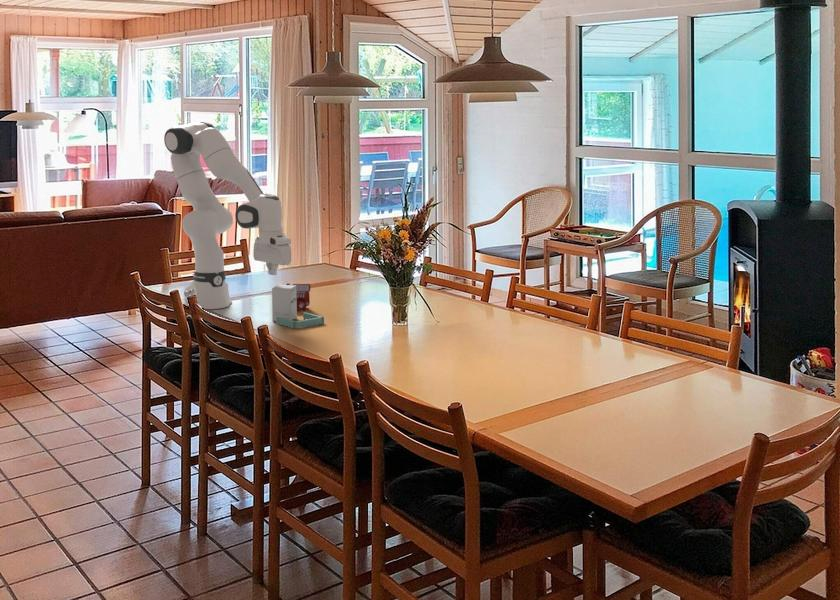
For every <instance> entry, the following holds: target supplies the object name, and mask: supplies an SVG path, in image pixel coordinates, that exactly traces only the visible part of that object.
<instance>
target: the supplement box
mask: <svg viewBox="0 0 840 600" xmlns="http://www.w3.org/2000/svg"><path fill="white" fill-rule="evenodd" d="M271 288H272V289H271V297H272V298H271V300H272V302H271V303H272V309H271V310H272V321H273V322H277V320H276V317H281V318H285V319H289V320H292V321H294V320H296V319H297V318H298V316H297V315H298V314H297V313H298V312H297V311H298V310H297V292H296V285H293V284H290V285H286V284H278V285H275V286H274V287H271ZM296 317H297V318H296ZM293 319H294V320H293Z"/></svg>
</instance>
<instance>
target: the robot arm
mask: <svg viewBox="0 0 840 600" xmlns="http://www.w3.org/2000/svg"><path fill="white" fill-rule="evenodd" d="M163 138H164V139H163V140H164V145H165V148H166V149H167V151H169V153H171V156H170V160H171V167H172V170H173V171H172V172H173V174H174V177H175V180H176V183H177V185H178V188H179V191H180V194H181V195H182V198H183V199H184V201H186V202H187V203H189V204H190V205H191V206H192V208H193V209H194V210H192V211H190V212H188V213H187V214H185V216H183V218H182V221H181V226H182V229H183V232H184V233H185V235H187V237H189V240H190V241H191V244H192V248H193V252H194V263H195V264H194V265H195V267H194V268H195V270H194V271H193V272H192V273H193V274H192V275H193V279H192V281H191V283H190V284H188V285H187V286H186V287H185V289H184V292H183V294H184V299H181V300H182V302H183V303H184V304H185V305H186V306H188V301H187V297H188V296H189V295H196V296H197V299H198V304H199V305H200V306H201V307H202V308H204V309H203V310H216V309H217V310H218V309H225V308H228V307H230V306H231V304H233V301H232V299H231V300H230V290H229V284H228V283H227V282H226V277H227V276H226V275H227V273H226V270H225V256H224V250H223V249H222V248H221V247H220V245H219V243H218V240H217V235H221V234H224V233H225V232H227V231H228V230H229V229H230V228H231V227H232V226H233V224H234V223H233V222H234V218H233V214H232V213H231V211H230V210H229V209H228V208H226V207H225V206H224V205H223V204H222V203H221V202H220V200H219V199H218V197H217V196H216V195H215V193H214V192H213V190H212V189H211V185H210V183H209V181H208V179H207V175H206V174H205V170H204V169H203V165H202V164H201V160H200V157H202V159H203V161H204V163H205V164H206V167H207V168H208V170H209V171H210V173H211V174H212V175H213V176H214V177H216V178H217V179H219V180H224V181H228V182H230V183H232V184H234V185H236V186H237V187H238V188H240V190H241V191H242V193H243V194H244V195H245V197H246V198H247V200H248V202H245V203H242V204H240V205H239V206H238V207H237V208H236V210H235V221H236V223H237V224H238V226H239V227H241V228H242V229H247V230H249V229H258V236H257V237H256V238H255V241H254V243H253V251H252V252H253V253H252V254H253V259H254V261H257V262H261V263H265V266H266V268H267V271H268V273H267V274H268V275H271V276H276V275H277V270H278V269H279V268H278V267H279V266H289V265H291V263H292V247H291V243H292V239H291V238H290V237H289V236H288V235H286V233H284V229H283V226H282V221H283V210H282V209H283V208H282V202H281V199H280V198H279V196H277V195H275V194H271V193H270V194H269V193H264V191H263V190H262V189H261V187H260V186H259V185H258V183H257V182H256V180H255V179H254V177H253V176H252V174H251V172H250V171H249V170H248V168H246V167H245V166H244V165H243V164H242V162H240V160H239V159H238V158H237V156H236V154H235V153H234V151H233V149H232V148H231V145H230V144H229V142H228V141H227V140H226V138H225V136H224V135H223V134H222V133H221V132H220V130H219V129H217V128H216V127H215V125H213V124H212V123H210V122H206V121H200V122H190V123H188V122H187V123H186V124H182V125H178V126H177V125H175V126H172V127H170V128H169V129H167V130H166V131H165V133H164V136H163Z"/></svg>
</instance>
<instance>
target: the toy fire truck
mask: <svg viewBox="0 0 840 600" xmlns="http://www.w3.org/2000/svg"><path fill="white" fill-rule="evenodd" d="M285 285H291V283H286V284H285ZM292 285H296V292H297V311H299V310H303V311H305V310H306V309H307V307H309V306H310V302H311V301H310V298H311V297H310V291H311V284H310V283H293V284H292Z"/></svg>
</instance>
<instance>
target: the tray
mask: <svg viewBox="0 0 840 600" xmlns="http://www.w3.org/2000/svg"><path fill="white" fill-rule="evenodd" d="M302 317H303V318H304V319H307V320H304V319H303V318H302V320H297V321H296V320H289V319H285V318H281V317H276V320H277V321H276V324H277V323H278V324H277V325H279V324H281V325H280V326H282V325H285V326H284V327H286V326H288V327H287V328H289V327H292V328H291V329H293V328H299V327H304V328H307V327H306V326H310V327H314V326H313V325H315V326H320V325H319V324H321V325H325V317H324V316H321V315H317V314H313V313H309V312H305V311H304V312H302ZM299 329H300V328H299Z"/></svg>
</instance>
